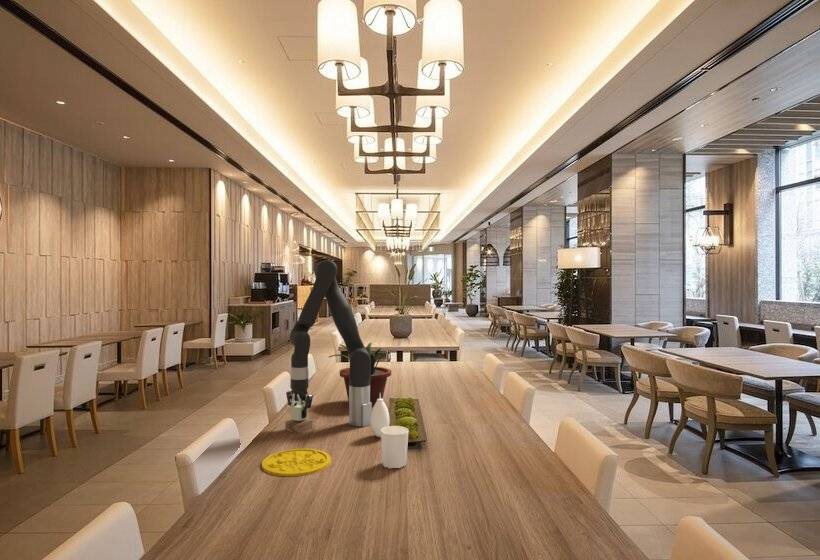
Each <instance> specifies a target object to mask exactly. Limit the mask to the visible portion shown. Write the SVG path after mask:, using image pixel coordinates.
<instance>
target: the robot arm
mask: <svg viewBox="0 0 820 560" xmlns="http://www.w3.org/2000/svg"><path fill="white" fill-rule="evenodd" d="M313 270H314V276H315V280H314V283H313V286H312V288H311V290H310V293H309V295H308V297H307V299H306V301H305V302H304V305H303V307H302V309H301V312H300V314H299V318H298V320H297V321H296V322H295V324H294V326H293V328H292V329H291V331H290V335H289V343H290V345H292V346H294V347H293V348H294V350H293V353H292V354H291V356H290V357H291V358H290V361H291V362H290V363H291V364H290V365H291V366H290V378H289V379H290V383H289V384H290V385H289V386H290V390H289V391H286V392H285V393H286V399H287V405H288V406H290V408H291V407H293V406H297V405H301V408H302V418H303V419H304V418H306V416H307V409H310V408H311V407H312V402H313V397H314V395H313V394H309V392H308V389H309V374H310V373H309V354H310V349H311V336H310V334H309V333H308V332H309V330H310V329H311V328H312V327H314V325H315V323H316V320H317V319H318V315H319V312H320V310H321V308H322V305H323V302H324V299H325V300H326V303H327V306H328V309H329V312H330V314H331V317H332V320H333V323H334V326H335V327H336V329H337V331H338V333H339V334H340V336H341V338H342V340H343V342H344V346H346V348H347V350H346V351H347V354H348V357H349V359H348V360H349V368H350V379H349V401H348V424H349V426H352V427H363V428H364V427H366V426H368V425H370V418H371V413H372V409H373V408H372V402H370V379H371V358H370V356H371V354H370V355H369V353H368V352H367V350H366V346H365V345H364V343H363V340H362V338H361V335H360V333H359V328H358V325H357V320H356V318H355V315H354V312H353V310H352V307H351V305H350V303H349V301H348V299H347V298H346V297H345V295H344V293H343V292H342V290H341V288H340V287H339V284H338V281H337V278H336V276H337V274H338V266H337V264H336V263H335V262H334V260H330V259H325V260H321V261H319V262H318V263H316V264H315V267H314V269H313ZM298 403H299V404H298Z"/></svg>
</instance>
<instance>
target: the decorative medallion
mask: <svg viewBox="0 0 820 560" xmlns="http://www.w3.org/2000/svg"><path fill="white" fill-rule="evenodd" d="M331 463H332V457H331V455H330V454H329V453H327V452H325V451H323V450H318V449H313V448H292V449H286V450H282V451H281V450H280V451H278V452H274V453H272V454H270V455H268V456H266V457H265V458H264V459H263V460H262V462H261V469H262V470H263V471H264V472H266V473H267V474H269V475H272V476H277V477H300V476H301V477H302V476H308V475H312V474H315V473H316V474H317V473H318V472H321V471H323V470H325V469H327V468H328V467H329V466H330V465H331Z"/></svg>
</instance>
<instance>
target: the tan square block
mask: <svg viewBox="0 0 820 560" xmlns="http://www.w3.org/2000/svg"><path fill="white" fill-rule="evenodd" d="M313 421H314V420H313V419H309V418H307V419H303V420H300V421H297V420H293V419H289V420H286V421H285V429H284V430H285V431H286V430H288V431H287V432H290V431H292V432H291V433H294V432H296V433H295V434H298V433H299V434H301V432H302V433H304V432H303V431H305V432H307V431H306V430H308V431H310V430H313V429H312V428H313V425H314V424H313ZM309 429H310V430H309Z"/></svg>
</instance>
